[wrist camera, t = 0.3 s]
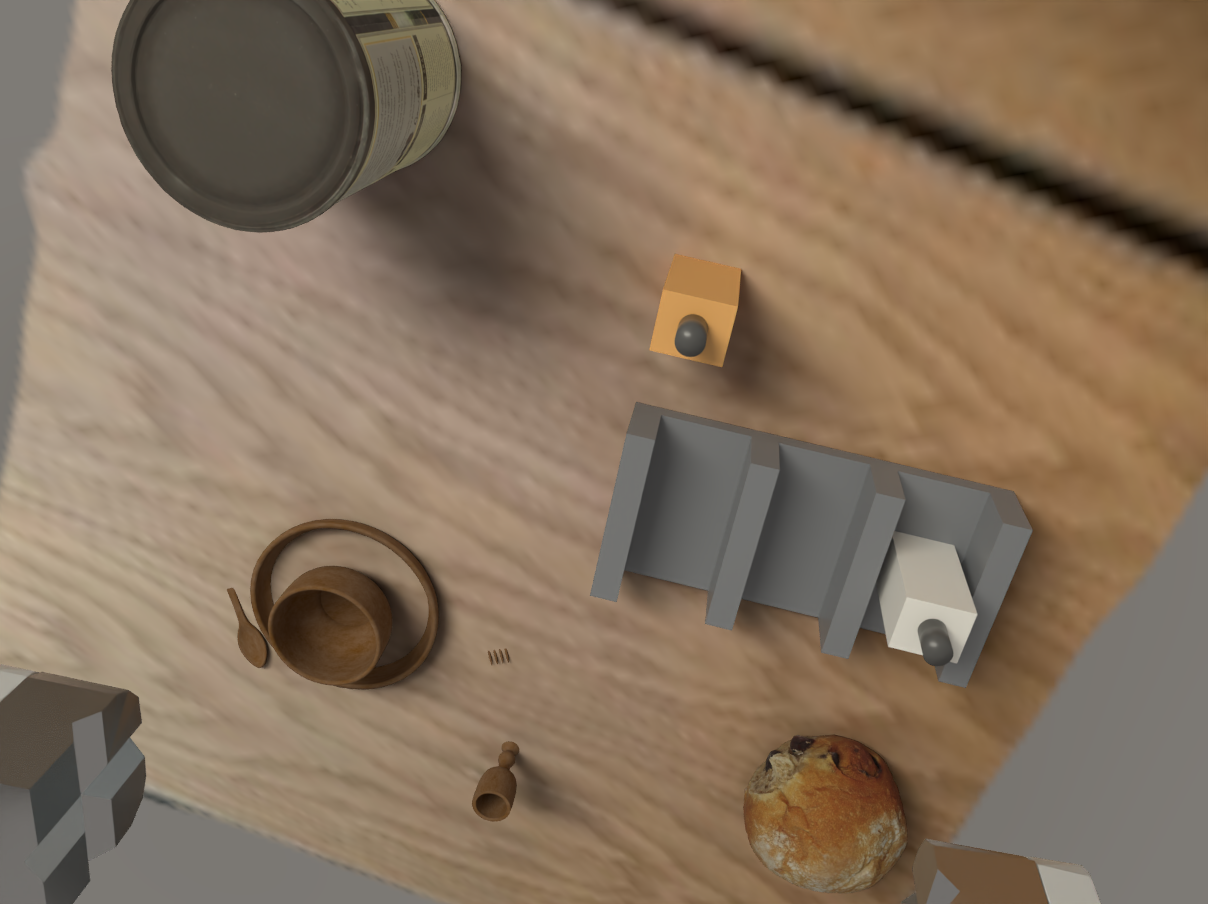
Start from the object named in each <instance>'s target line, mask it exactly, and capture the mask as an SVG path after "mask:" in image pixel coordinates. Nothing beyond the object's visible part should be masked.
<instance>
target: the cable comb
mask: <svg viewBox="0 0 1208 904" xmlns="http://www.w3.org/2000/svg"><path fill="white" fill-rule="evenodd" d="M894 531H896V532H901V533H905V534H909V535H913V536H917V537H921V538H926V539H930V540H934V541H938V542H942V543H946V544H951V545H954V546H955V549H956V552H957V555H958V558H959V561H960V564H961V567H962V570H963V573H964V576H965V579H966V582H967V585H968V588H969V591H970V594H971V597H972V600H973V602H974V605H975V608H976V611H977V617H976V619H975V621H974V624H973V626H972V629H971V631H970V634H969V636H968V638H967V641H966V643H965V646H964V648H963V650H962V653H961V655H960V658H959V660H958V662H957V663H952V662H949V663H947V664H946V665H943V666H935V669H936V673H937V677H938V681H940V682H944V683H948V684H952V685H956V686H960V687H964V688H966V686H967V684H968V681H969V679H970V677H971V674H972V672H973V670H974V667H975V665H976V663H977V660H978V658H979V656H980V653H981V651H982V648H983V646H984V644H985V641H986V639H987V637H988V634H989V632H990V630H991V627H992V625H993V623H994V620H995V618H996V616H997V613H998V611H999V608H1000V606H1001V604H1002V601H1003V599H1004V597H1005V594H1006V592H1007V590H1008V587H1009V585H1010V583H1011V580H1012V578H1013V576H1014V573H1015V571H1016V568H1017V566H1018V564H1019V561H1020V559H1021V557H1022V554H1023V552H1024V550H1025V547H1026V545H1027V543H1028V540H1029V538H1030V536H1031V533H1032V531H1033V530H1032V528H1031V526H1030V524H1029V522H1028V520H1027V518H1026V516H1025V514H1024V511H1023V509H1022V507H1021V505H1020V503H1019V501H1018V499H1017V497H1016V495H1015V493H1014V491H1010V490H1006V489H1001V488H997V487H993V486H989V485H985V484H980V483H976V482H972V481H968V480H963V479H959V478H955V477H951V476H947V475H942V474H938V473H934V472H930V471H925V470H921V469H917V468H913V467H908V466H904V465H900V464H896V463H892V462H887V461H883V460H879V459H875V458H870V457H866V456H862V455H858V454H854V453H849V452H845V451H841V450H837V449H832V448H828V447H824V446H820V445H816V444H811V443H807V442H803V441H799V440H794V439H790V438H786V437H782V436H778V435H773V434H769V433H765V432H761V431H756V430H752V429H748V428H744V427H740V426H735V425H731V424H727V423H723V422H718V421H714V420H710V419H706V418H702V417H697V416H693V415H689V414H685V413H680V412H676V411H672V410H668V409H664V408H659V407H655V406H651V405H647V404H642V403H638V402H636V405H635V408H634V411H633V414H632V418H631V421H630V424H629V427H628V431H627V434H626V439H625V443H624V447H623V452H622V456H621V461H620V465H619V470H618V474H617V478H616V483H615V487H614V492H613V496H612V501H611V505H610V509H609V514H608V518H607V523H606V527H605V532H604V536H603V540H602V545H601V549H600V554H599V558H598V563H597V567H596V571H595V576H594V580H593V585H592V589H591V593H590V596H594V597H598V598H602V599H606V600H610V601H614V602H617V598H618V594H619V589H620V585H621V581H622V577H623V573H624V570H625V571H630V572H634V573H638V574H642V575H646V576H650V577H654V578H658V579H662V580H666V581H670V582H675V583H679V584H683V585H687V586H691V587H695V588H699V589H703V590H707V591H708V597H707V608H706V619H705V624H708V625H712V626H716V627H720V628H724V629H728V630H732V628H733V625H734V621H735V618H736V615H737V611H738V608H739V604H740V601H741V599H744V600H748V601H752V602H756V603H761V604H765V605H769V606H773V607H777V608H781V609H785V610H789V611H793V612H797V613H802V614H806V615H810V616H814V617H818V620H819V632H820V644H821V652H822V653H826V654H830V655H834V656H838V657H842V658H846V659H848V658H849V655H850V653H851V650H852V647H853V644H854V641H855V639H856V636H857V633H858V630H859V628H863V629H867V630H871V631H875V632H879V633H883V634H886V633H885V627H884V622H883V617H882V611H881V606H880V601H879V595H878V590H877V584H876V580H877V578H878V575H879V572H880V569H881V567H882V564H883V561H884V558H885V556H886V553H887V550H888V547H889V544H890V542H891V539H892V536H893V533H894Z"/></svg>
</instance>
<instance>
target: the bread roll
mask: <svg viewBox="0 0 1208 904" xmlns="http://www.w3.org/2000/svg"><path fill="white" fill-rule="evenodd" d="M783 792H784V793H783ZM743 809H744V820H745V829H746V832H747V834H748V839H749V842H750V845H751V847H752V849H753V851H754V853H755V854H756V856H757V857H758V859H759V860H760V861H761V862H762V863H763V865H764V866H765V867H767V868H768V869H769V870H771V871H772V872H773V873H775V874H776V875H778V876H779V877H781V878H783V879H785V880H787V881H788V882H790V883H792V884H795V885H797V886H800V887H802V888H806V889H810V890H812V891H819V892H826V893H836V892H837V893H853V892H857V891H860V890H864V889H867V888H870V887H872V886H873V885H875V884H876V883H877V882H879V881H880V880H881V879H882V878H883V877H884V876H885V875H886V874H887V873H888V872H889V871H890V869H891V868H892V867H893V866H894V865H895V863H896V862H897V861H898V860H899V858H900V857H901V855H902V852H903V850H904V849H905V847H906V844H907V837H908V832H907V824H906V818H905V814H904V810H903V805H902V802H901V800H900V796H899V791H898V787H897V786H896V784H895V782H894V780H893V777H892V774H891V772H890V771H889V768H888V766H887V765H886V763H885V761H884V760H883V759H882V758H881V757H880V756H879V755H878V754H877V753H875V752H874V751H872V750H871V749H869V748H868V747H866V746H864V745H863V744H861V743H859V742H857V741H855V740H852V739H849V738H845V737H841V736H837V735H827V736H812V737H809V736H806V737H803V736H799V735H797V736H794V737H793V738H792V740H790V741H788V742H785V743H784V744H783V745H781V746H780V747H779V748H778V749H776V750H774V751H771V752H770V754H769V755H768V757H767V759H766V761H765V762H764V763H763V764H762V765H761V766H760V767H759V768H757V770H756V771H755V773H754V775H753V777H752V779H751V781H750V783H749V785H748V787H747V788H746V789H745V797H744V807H743Z"/></svg>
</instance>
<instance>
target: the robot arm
mask: <svg viewBox="0 0 1208 904" xmlns="http://www.w3.org/2000/svg"><path fill="white" fill-rule="evenodd" d="M141 723H142V719H141V712H140V704H139V697H138V696H136V695H135V694H133V693H132V692H131V691H129V690H125V689H121V688H116V687H111V686H107V685H102V684H97V683H92V682H88V681H83V680H78V679H74V678H69V677H64V676H59V675H55V674H50V673H45V672H41V673H39V672H35V671H31V670H26V669H22V668H17V667H12V666H8V665H3V664H0V904H73V903H74V902H75V900H76V899H77V898H78V896H79V895H80V894H81V892H82V891H83V890H84V889H85V887H86V886H87V885H88V883H89V882H90V873H89V863H88V861H90V860H92V859H94V858H96V857H98V856H100V855H102V854H103V853H106V852H107V851H109V850H111V849H113V848H115V847H116V846H117V845H118V843H119V842H120V840H121V839H122V838H123V836H124V835H125V834H126V832H127V831H128V830H129V828H130V827H131V825H132V823H133V820H134V818H135V816H136V813H137V811H138V808H139V806H140V803H141V801H142V799H143V793H144V786H145V780H146V767H145V756H144V755H143V754H142V752H141V751H140V750H139V749H138V747H137V746H136V745H135V743H134V742H133V741H132V740H131V738H130V736H131V735H132V734H133V733H134V732H135V730H136V729H137V728H138V727H139V726H140V724H141ZM912 871H913V877H914V884H915V890H916V893H914V894H913V895H911V896H909V897H908V898H906V899H905V900H903V901H902V902H901V904H1101V902H1100V899H1099V896H1098V894H1097V891H1096V889H1095V886H1094V883H1093V881H1092V878H1091V875H1090V874H1089V872H1088V871H1087V870H1086V869H1085V868H1084V867H1083V866H1082V865H1077V864H1071V863H1065V862H1059V861H1053V860H1047V859H1041V858H1035V857H1028V858H1026V857H1023V856H1019V855H1013V854H1007V853H1002V852H996V851H991V850H985V849H980V848H974V847H968V846H962V845H957V844H952V843H946V842H940V841H935V840H929V839H925V840H924V841H923V843H922V844H921V846H920V847H919V849H918V852H917V855H916V858H915V861H914V864H913V867H912Z"/></svg>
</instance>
